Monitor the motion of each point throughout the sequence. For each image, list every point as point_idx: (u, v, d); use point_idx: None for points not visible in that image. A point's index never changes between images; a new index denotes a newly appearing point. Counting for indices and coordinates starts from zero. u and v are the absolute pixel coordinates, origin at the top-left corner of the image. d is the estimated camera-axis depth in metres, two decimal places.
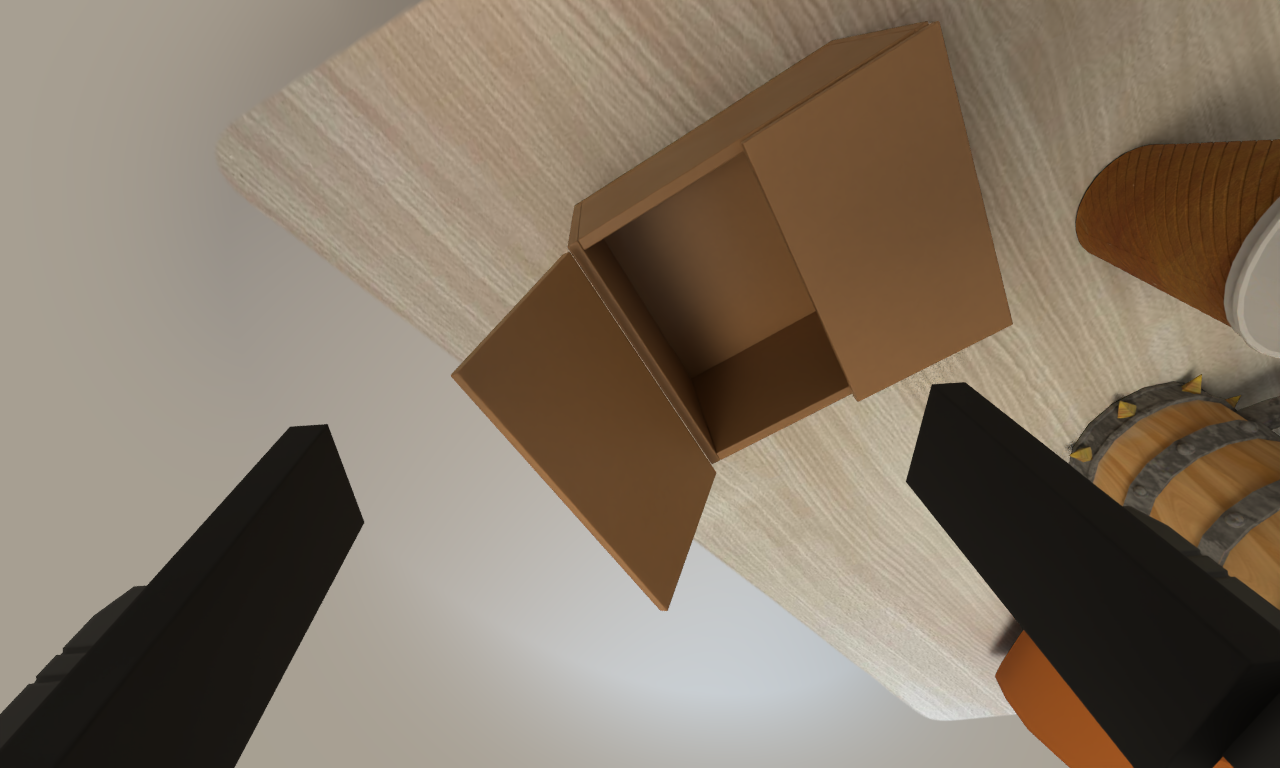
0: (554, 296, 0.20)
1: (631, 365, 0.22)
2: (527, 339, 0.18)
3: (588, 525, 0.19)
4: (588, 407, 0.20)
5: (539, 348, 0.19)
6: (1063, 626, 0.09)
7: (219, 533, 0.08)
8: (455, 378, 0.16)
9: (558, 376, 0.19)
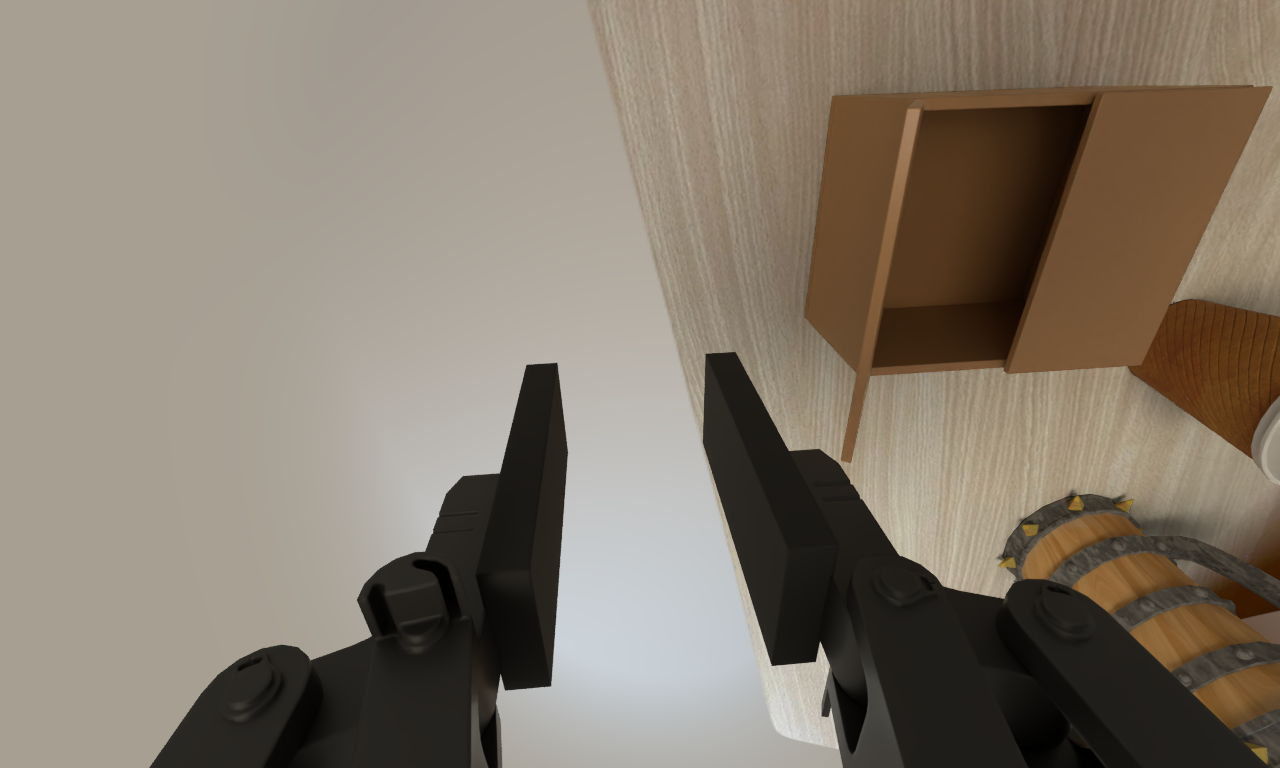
0: None
1: None
2: None
3: (871, 336, 0.19)
4: None
5: None
6: (747, 547, 0.10)
7: (530, 434, 0.10)
8: (910, 113, 0.16)
9: (906, 189, 0.19)
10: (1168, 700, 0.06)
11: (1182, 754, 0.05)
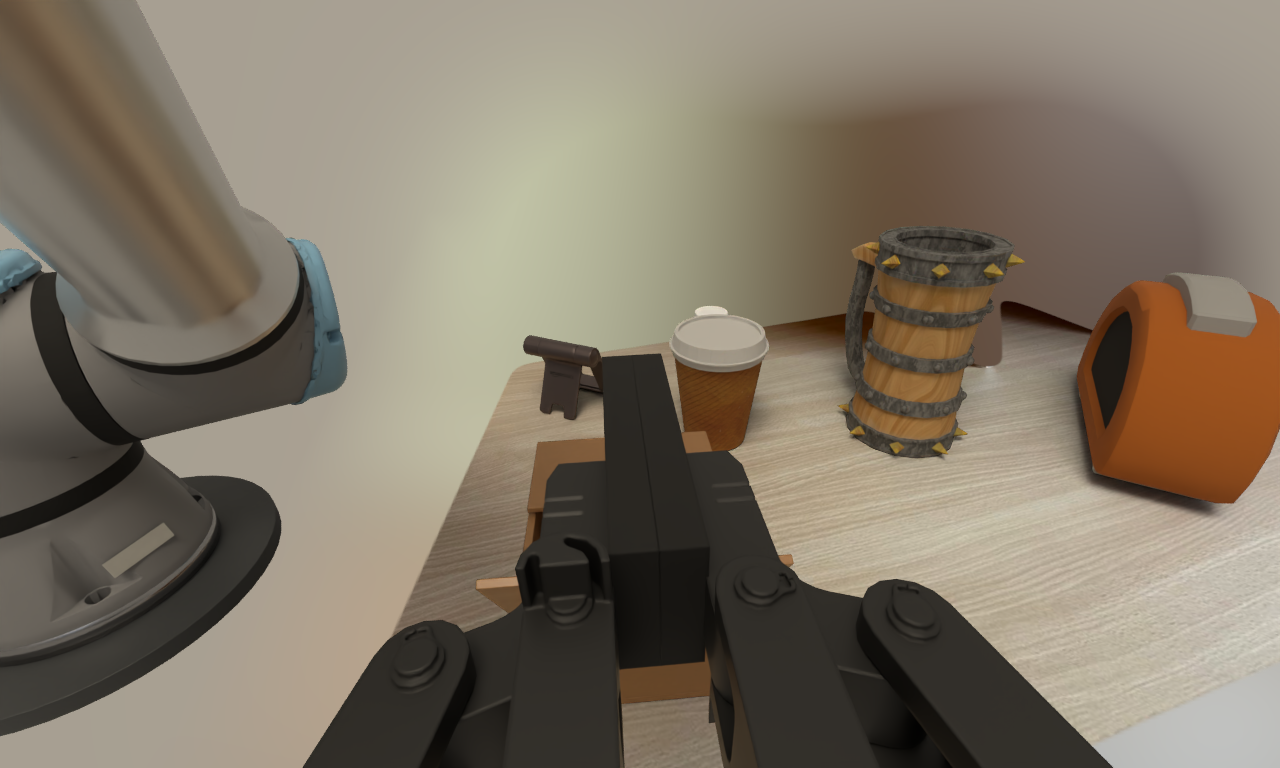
0: None
1: None
2: None
3: None
4: None
5: None
6: None
7: (624, 422, 0.11)
8: (479, 585, 0.21)
9: None
10: (1005, 690, 0.06)
11: (1018, 748, 0.05)
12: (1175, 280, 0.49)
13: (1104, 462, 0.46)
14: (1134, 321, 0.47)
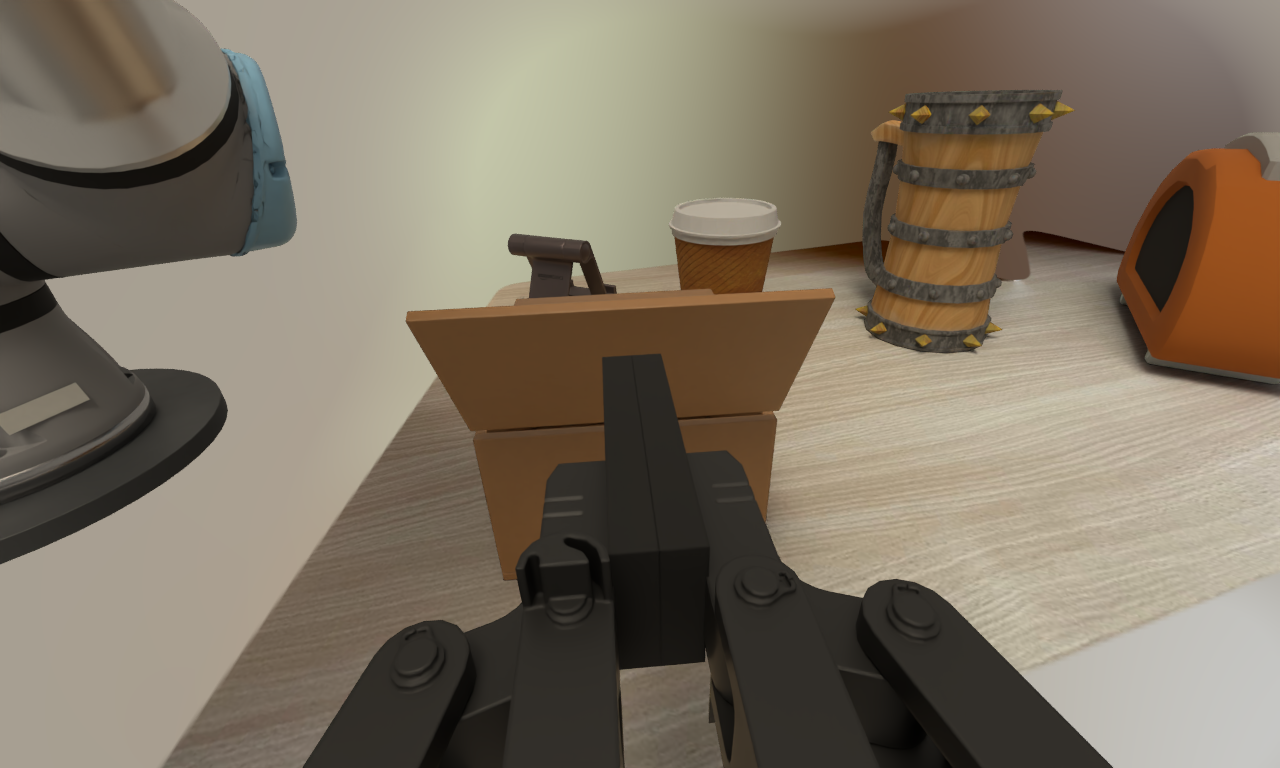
0: None
1: None
2: None
3: (651, 301, 0.16)
4: None
5: None
6: None
7: (624, 422, 0.11)
8: (410, 317, 0.16)
9: None
10: (1004, 691, 0.06)
11: (1018, 748, 0.05)
12: (1240, 142, 0.43)
13: (1164, 341, 0.40)
14: (1195, 185, 0.42)
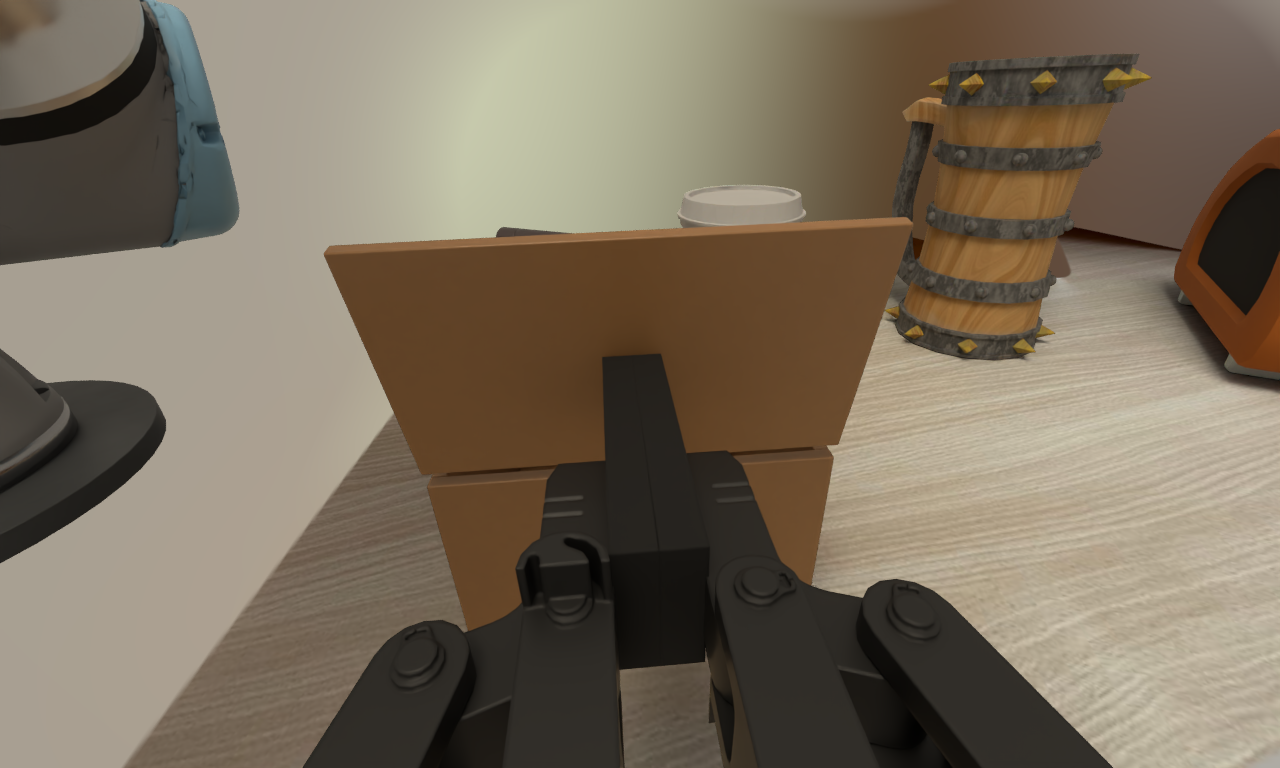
0: None
1: None
2: None
3: (663, 231, 0.12)
4: None
5: None
6: None
7: (624, 422, 0.11)
8: (331, 250, 0.11)
9: None
10: (1005, 691, 0.06)
11: (1018, 747, 0.05)
12: None
13: (1256, 347, 0.35)
14: None
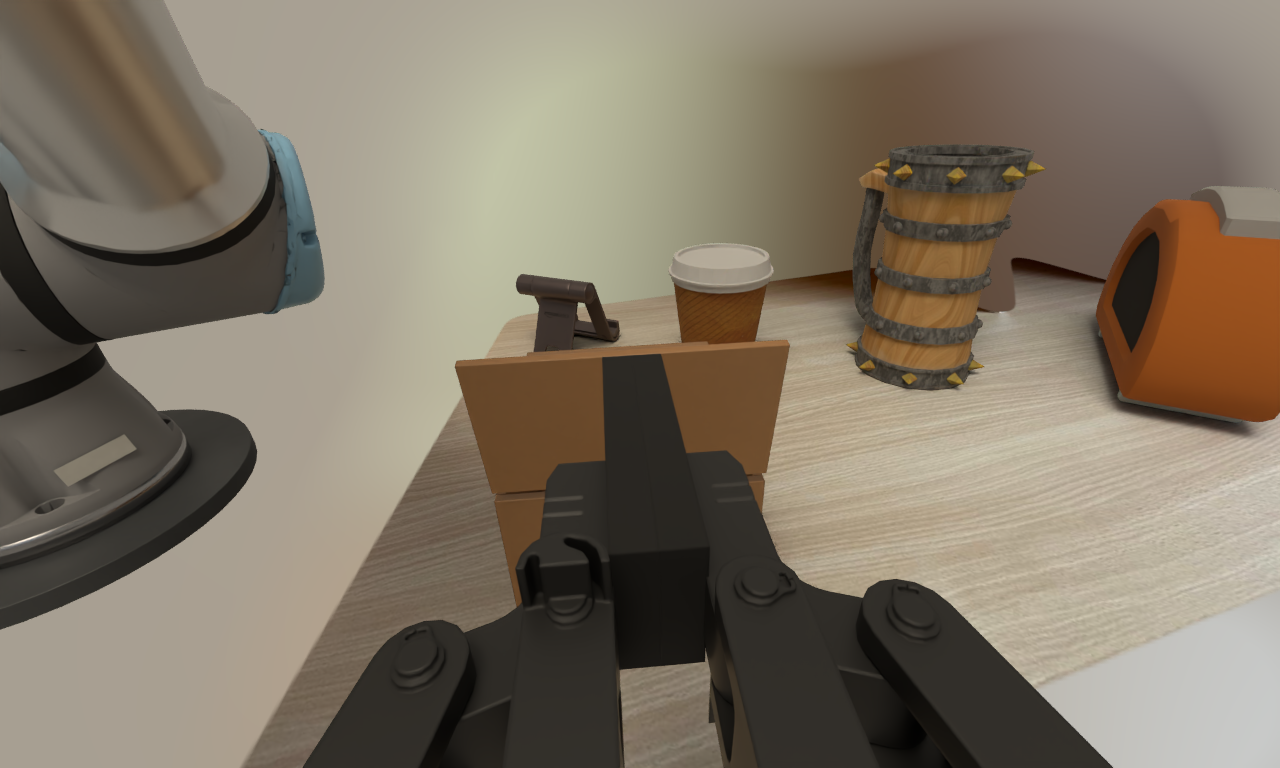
0: None
1: None
2: None
3: (645, 350, 0.21)
4: None
5: None
6: None
7: (624, 422, 0.11)
8: (458, 363, 0.20)
9: None
10: (1005, 690, 0.06)
11: (1018, 747, 0.05)
12: (1203, 194, 0.46)
13: (1132, 383, 0.43)
14: (1161, 235, 0.45)
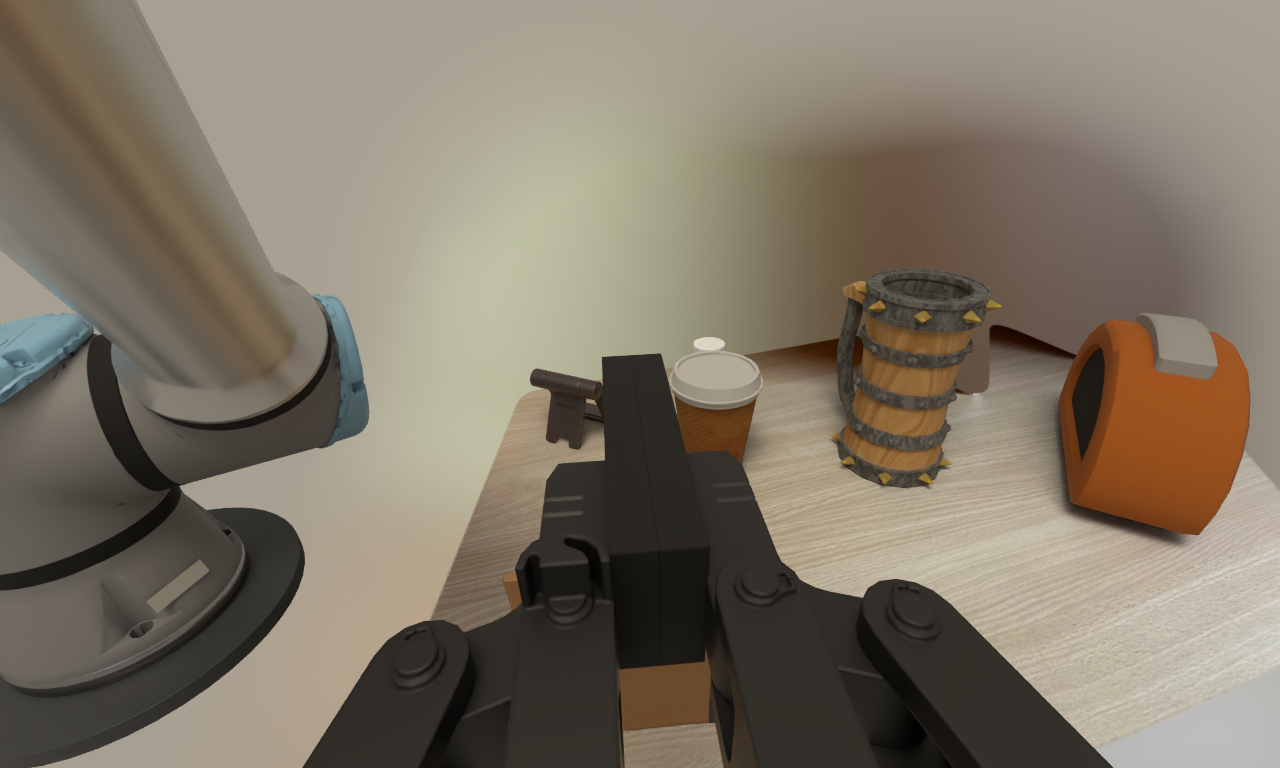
0: None
1: None
2: None
3: None
4: None
5: None
6: None
7: (624, 422, 0.11)
8: (505, 578, 0.26)
9: None
10: (1004, 690, 0.06)
11: (1018, 747, 0.05)
12: (1145, 321, 0.52)
13: (1079, 495, 0.49)
14: (1106, 360, 0.50)
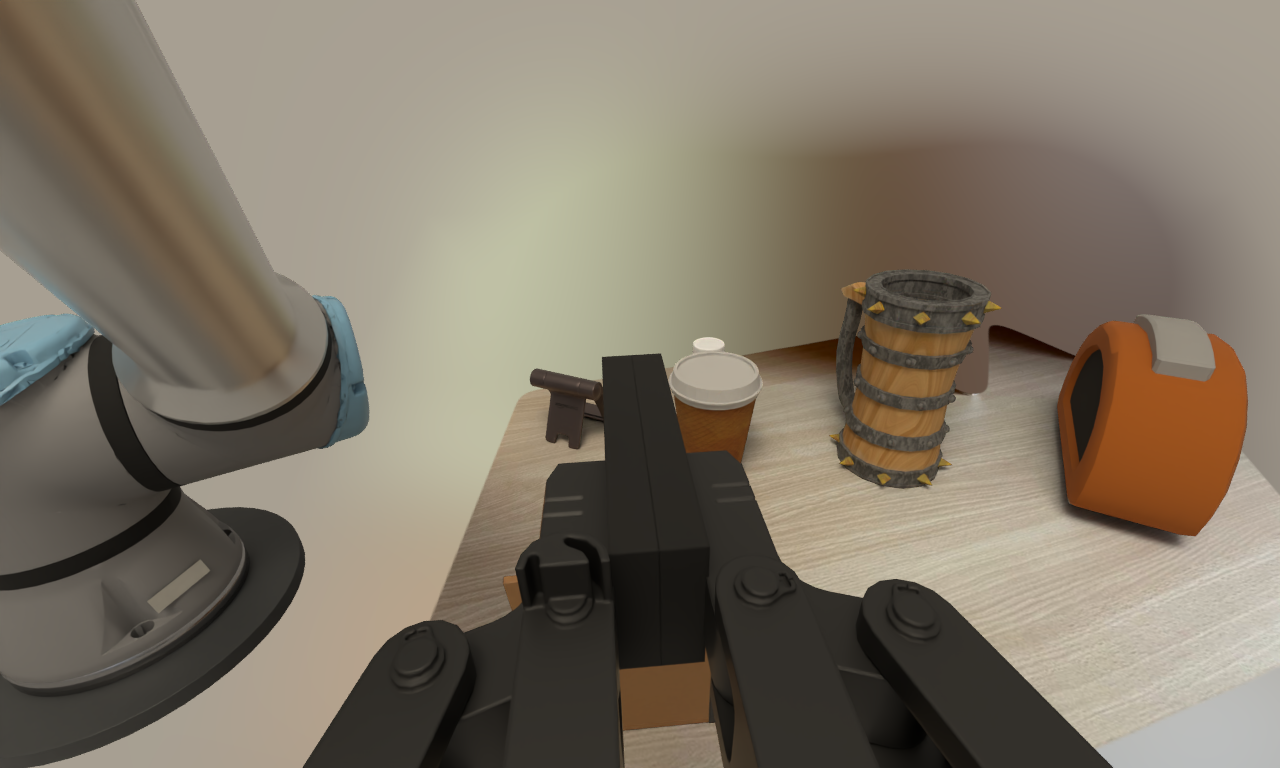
0: None
1: None
2: None
3: None
4: None
5: None
6: None
7: (624, 422, 0.11)
8: (506, 580, 0.26)
9: None
10: (1004, 690, 0.06)
11: (1018, 747, 0.05)
12: (1144, 322, 0.52)
13: (1077, 496, 0.49)
14: (1105, 362, 0.51)
